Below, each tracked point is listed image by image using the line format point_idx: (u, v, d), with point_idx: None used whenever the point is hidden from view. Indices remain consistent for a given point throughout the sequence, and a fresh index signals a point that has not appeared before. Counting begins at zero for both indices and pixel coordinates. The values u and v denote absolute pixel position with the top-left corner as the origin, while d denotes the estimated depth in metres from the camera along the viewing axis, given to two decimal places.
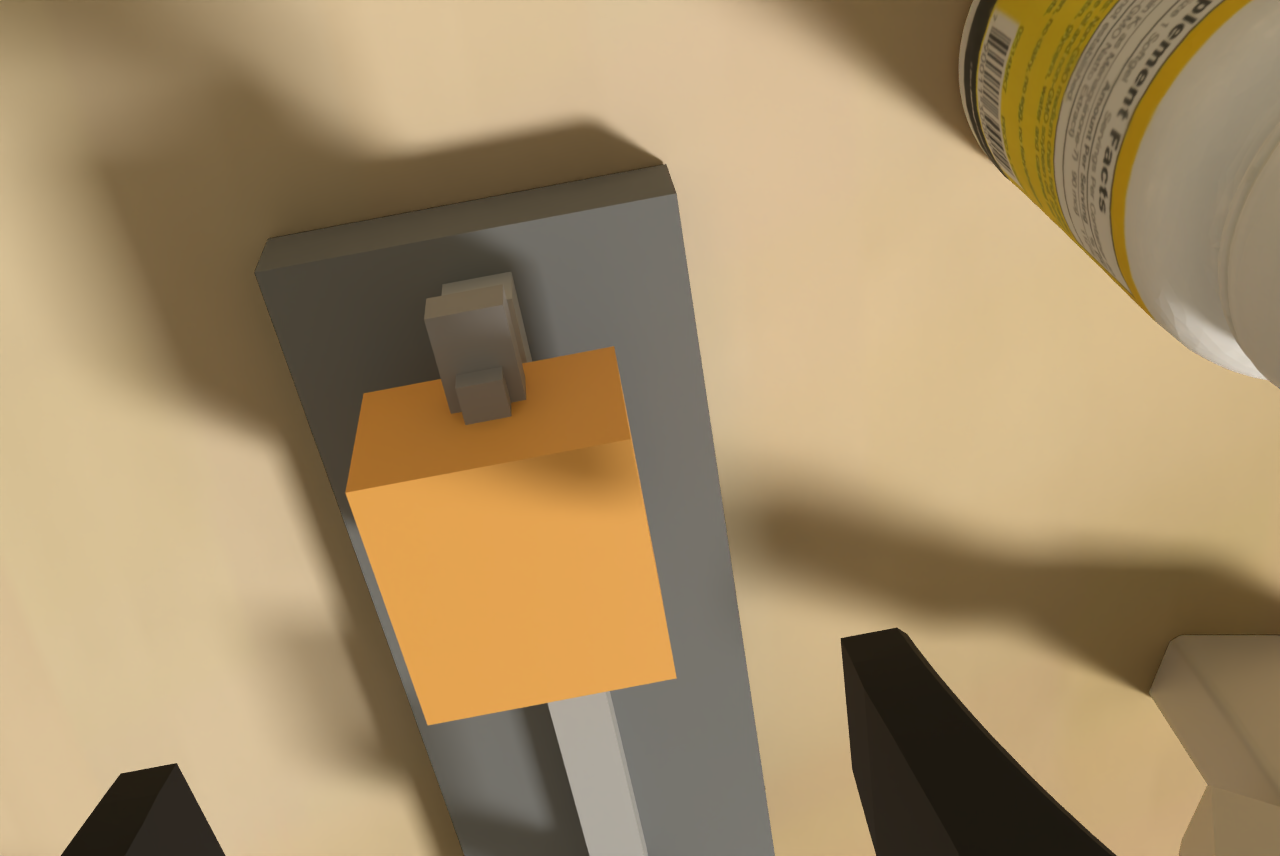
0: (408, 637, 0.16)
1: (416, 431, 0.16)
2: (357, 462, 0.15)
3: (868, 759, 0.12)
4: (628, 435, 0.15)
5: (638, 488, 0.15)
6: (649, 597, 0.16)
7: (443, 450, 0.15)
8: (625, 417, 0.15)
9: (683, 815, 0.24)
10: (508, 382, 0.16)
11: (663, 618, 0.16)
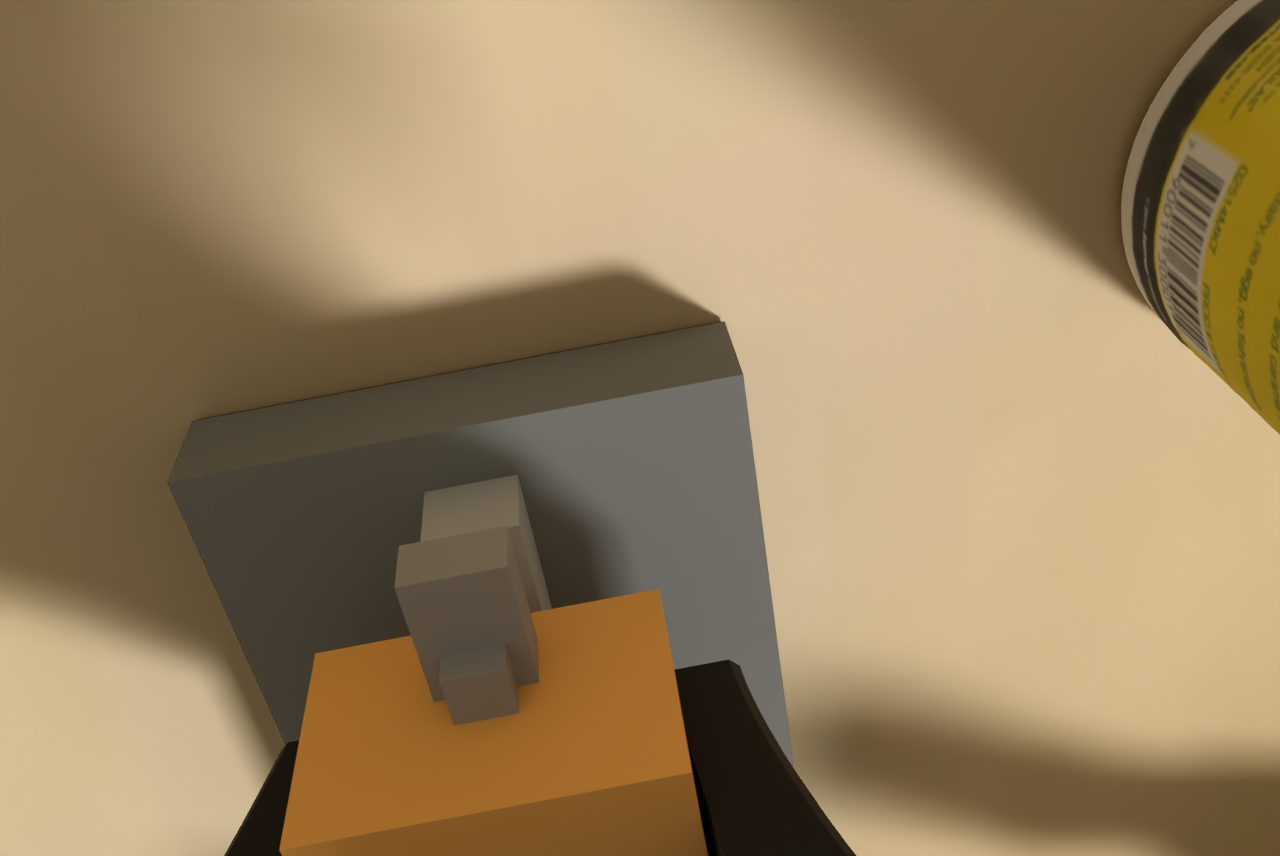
0: None
1: (385, 734, 0.11)
2: (299, 788, 0.11)
3: None
4: (688, 765, 0.10)
5: (700, 831, 0.10)
6: None
7: (422, 773, 0.11)
8: (681, 726, 0.11)
9: None
10: (514, 660, 0.11)
11: None
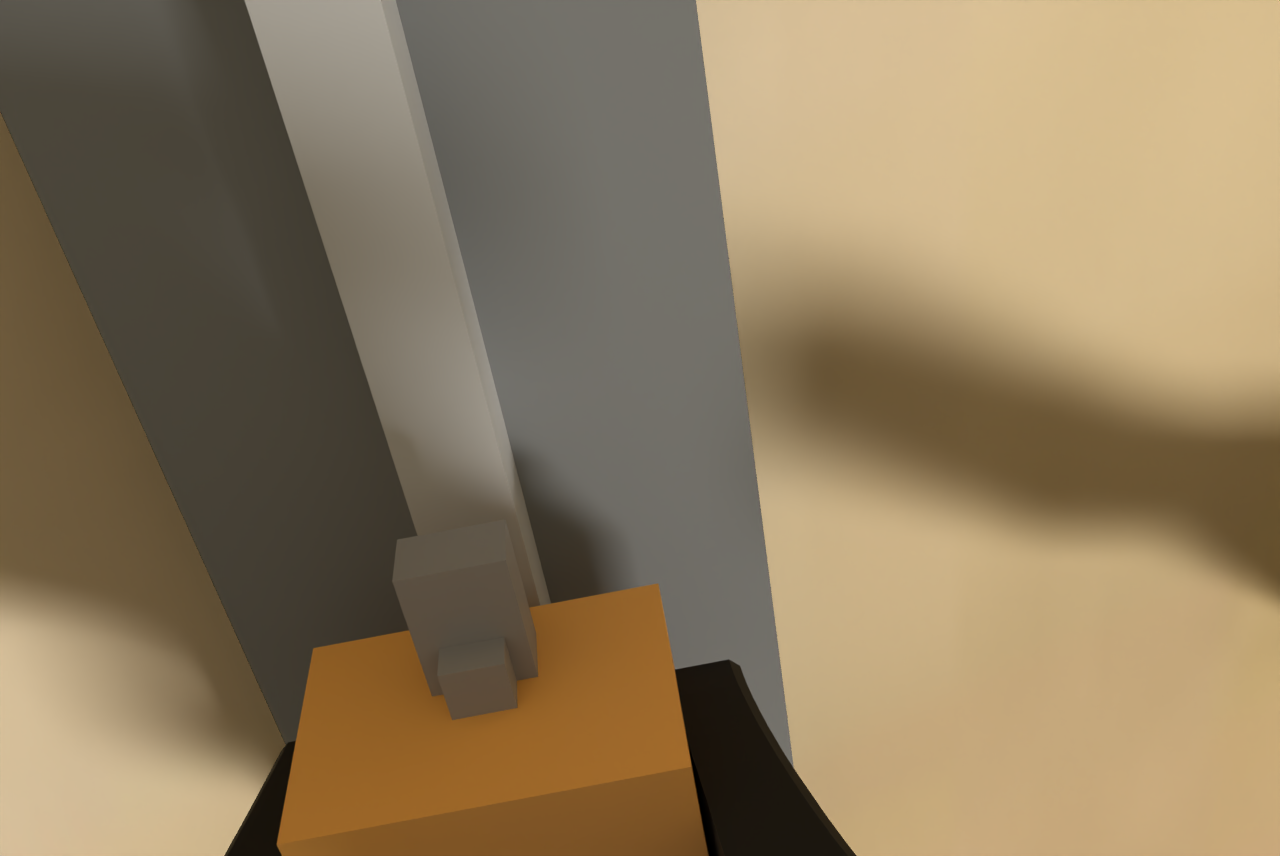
0: None
1: (383, 727, 0.11)
2: (297, 782, 0.11)
3: None
4: (687, 759, 0.10)
5: (699, 826, 0.10)
6: None
7: (420, 767, 0.11)
8: (680, 721, 0.11)
9: None
10: (513, 655, 0.11)
11: None
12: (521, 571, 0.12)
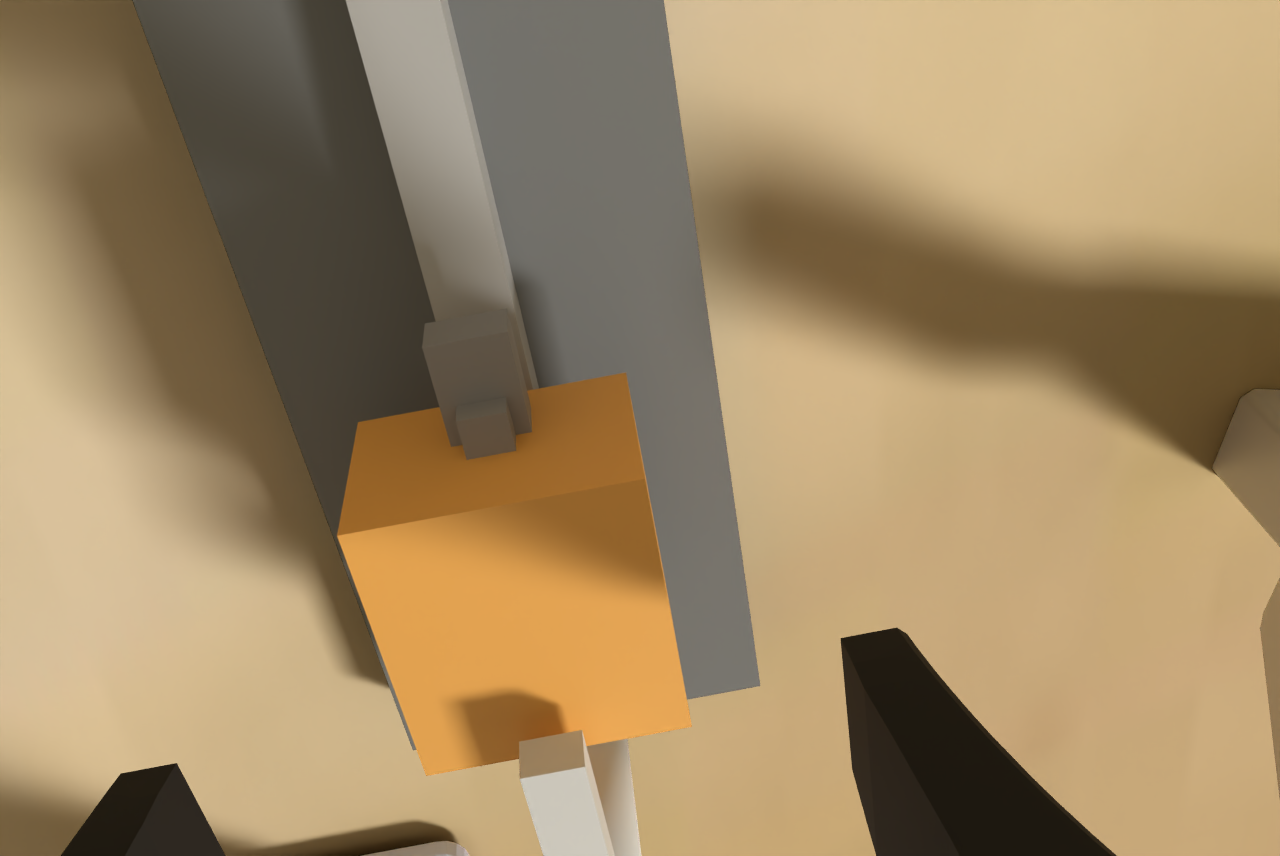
0: (405, 685, 0.15)
1: (413, 466, 0.14)
2: (350, 500, 0.14)
3: (868, 759, 0.12)
4: (642, 474, 0.14)
5: (652, 530, 0.14)
6: (663, 642, 0.15)
7: (442, 488, 0.14)
8: (638, 453, 0.14)
9: None
10: (512, 413, 0.15)
11: (678, 664, 0.15)
12: None
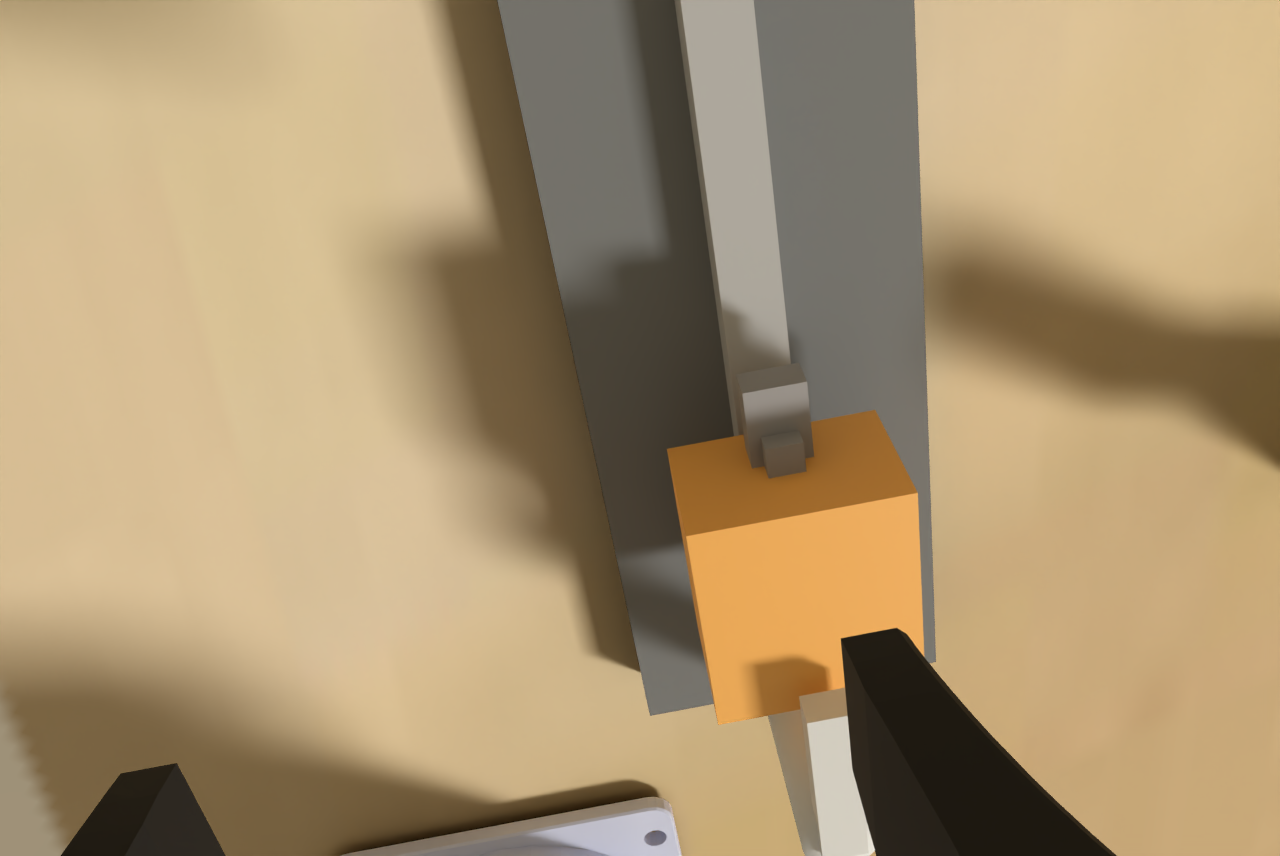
0: (715, 652, 0.19)
1: (727, 483, 0.19)
2: (685, 509, 0.19)
3: (868, 759, 0.12)
4: (915, 489, 0.18)
5: (918, 532, 0.18)
6: (913, 619, 0.19)
7: (757, 500, 0.18)
8: (906, 473, 0.18)
9: None
10: None
11: (921, 636, 0.20)
12: None
